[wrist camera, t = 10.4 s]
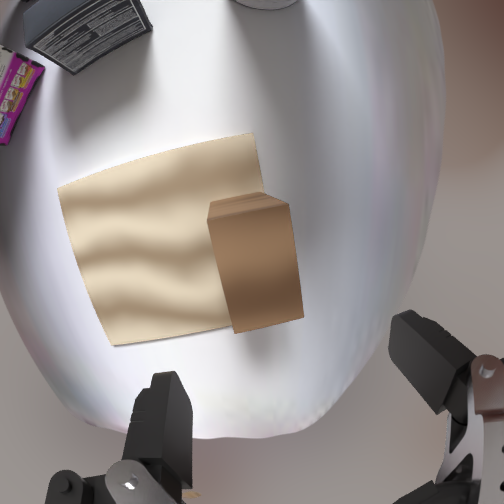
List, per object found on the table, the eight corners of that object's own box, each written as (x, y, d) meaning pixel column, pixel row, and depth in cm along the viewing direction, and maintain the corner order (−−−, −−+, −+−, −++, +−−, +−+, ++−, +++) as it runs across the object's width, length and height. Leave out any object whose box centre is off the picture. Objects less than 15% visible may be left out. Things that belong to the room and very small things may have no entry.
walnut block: (210, 201, 26) (206, 221, 16) (259, 191, 27) (288, 204, 16) (227, 276, 29) (234, 333, 18) (273, 266, 29) (304, 317, 19)
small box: (139, -2, 19) (117, -51, 9) (154, 30, 21) (132, -22, 11) (63, 43, 19) (20, 11, 9) (73, 77, 21) (24, 49, 11)
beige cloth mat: (59, 188, 24) (57, 188, 23) (252, 133, 26) (253, 132, 25) (112, 342, 30) (111, 345, 30) (283, 310, 32) (284, 313, 31)
